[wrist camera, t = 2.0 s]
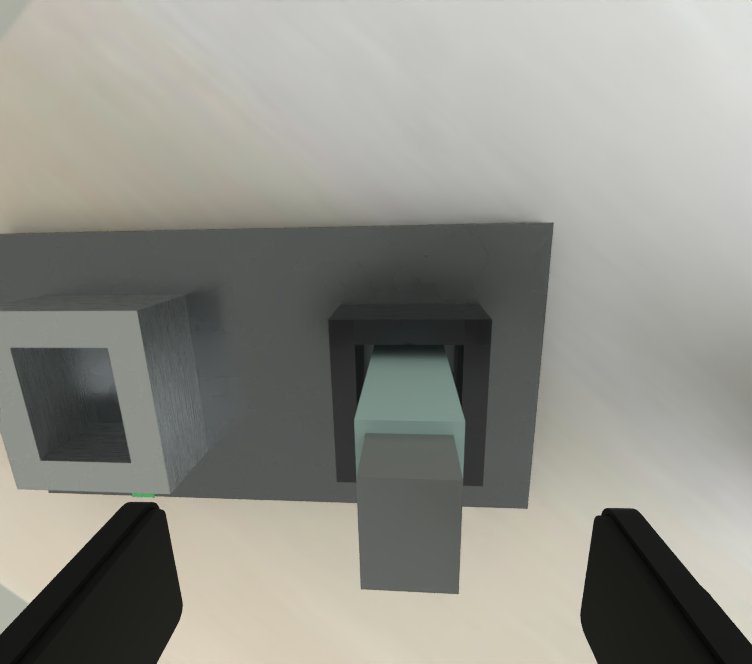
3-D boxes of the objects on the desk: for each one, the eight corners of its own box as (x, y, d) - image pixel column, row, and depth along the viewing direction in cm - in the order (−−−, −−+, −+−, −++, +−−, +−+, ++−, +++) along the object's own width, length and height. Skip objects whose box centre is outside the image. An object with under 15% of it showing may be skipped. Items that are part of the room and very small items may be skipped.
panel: (541, 222, 18) (590, 223, 14) (519, 489, 22) (550, 564, 17) (9, 233, 20) (-115, 237, 16) (70, 476, 24) (-14, 540, 19)
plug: (441, 338, 19) (477, 465, 9) (439, 417, 20) (470, 607, 10) (376, 337, 19) (342, 461, 9) (377, 416, 20) (349, 601, 10)
